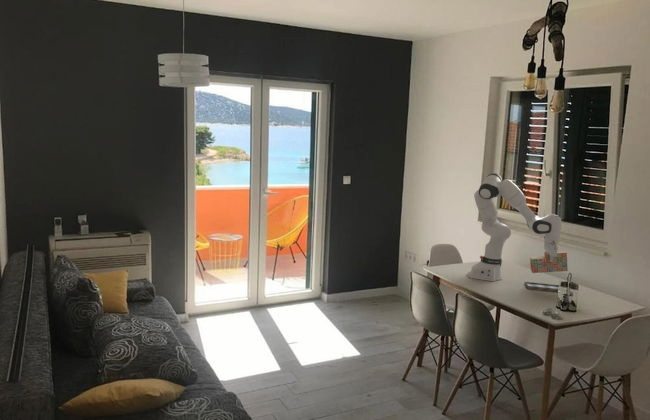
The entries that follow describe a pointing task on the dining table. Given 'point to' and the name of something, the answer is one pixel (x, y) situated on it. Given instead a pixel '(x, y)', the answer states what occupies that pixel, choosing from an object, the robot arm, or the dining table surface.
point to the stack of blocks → (549, 263)
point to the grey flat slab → (541, 286)
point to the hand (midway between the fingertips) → (549, 260)
